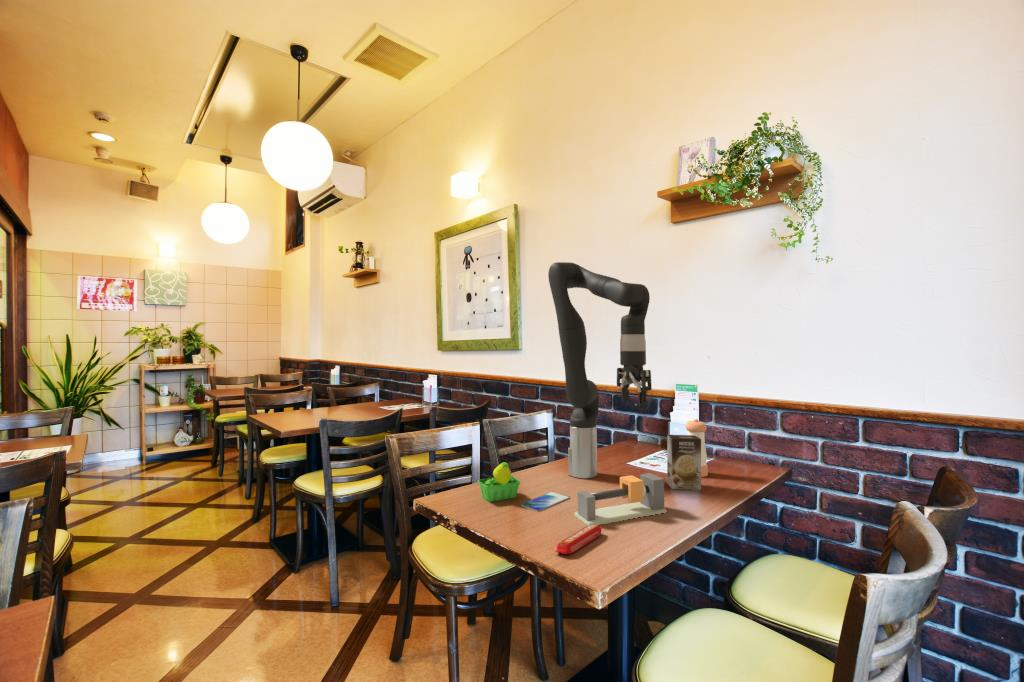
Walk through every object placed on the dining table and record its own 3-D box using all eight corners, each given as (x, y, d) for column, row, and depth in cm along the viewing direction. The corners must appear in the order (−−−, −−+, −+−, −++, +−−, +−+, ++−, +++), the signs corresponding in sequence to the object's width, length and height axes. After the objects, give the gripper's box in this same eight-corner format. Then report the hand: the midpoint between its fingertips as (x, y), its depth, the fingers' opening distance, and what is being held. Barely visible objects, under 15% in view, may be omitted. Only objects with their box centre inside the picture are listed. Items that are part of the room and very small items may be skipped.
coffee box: (671, 489, 143) (671, 438, 143) (666, 483, 150) (666, 434, 150) (702, 490, 142) (701, 438, 142) (695, 483, 149) (695, 434, 149)
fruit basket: (510, 490, 144) (510, 455, 144) (523, 499, 136) (523, 461, 136) (477, 496, 139) (476, 459, 139) (488, 505, 131) (487, 466, 131)
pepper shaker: (683, 470, 163) (682, 417, 163) (704, 471, 162) (703, 417, 162) (688, 476, 156) (687, 421, 156) (710, 477, 155) (709, 421, 155)
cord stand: (589, 526, 116) (588, 491, 116) (574, 515, 123) (573, 482, 123) (666, 513, 124) (666, 480, 124) (648, 503, 131) (647, 472, 131)
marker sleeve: (630, 503, 122) (630, 482, 122) (619, 497, 127) (619, 476, 127) (643, 501, 123) (643, 480, 123) (632, 495, 128) (631, 475, 128)
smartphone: (571, 497, 137) (538, 511, 126) (571, 499, 137) (538, 514, 126) (552, 491, 142) (519, 504, 131) (552, 493, 142) (519, 507, 131)
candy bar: (591, 532, 113) (590, 519, 113) (604, 536, 111) (604, 523, 111) (553, 555, 101) (552, 542, 101) (566, 560, 99) (566, 546, 99)
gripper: (658, 349, 132) (659, 405, 132) (629, 349, 146) (630, 399, 146) (636, 350, 130) (637, 407, 130) (609, 349, 143) (609, 401, 143)
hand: (633, 403), depth 138 cm, fingers open, 8 cm apart
